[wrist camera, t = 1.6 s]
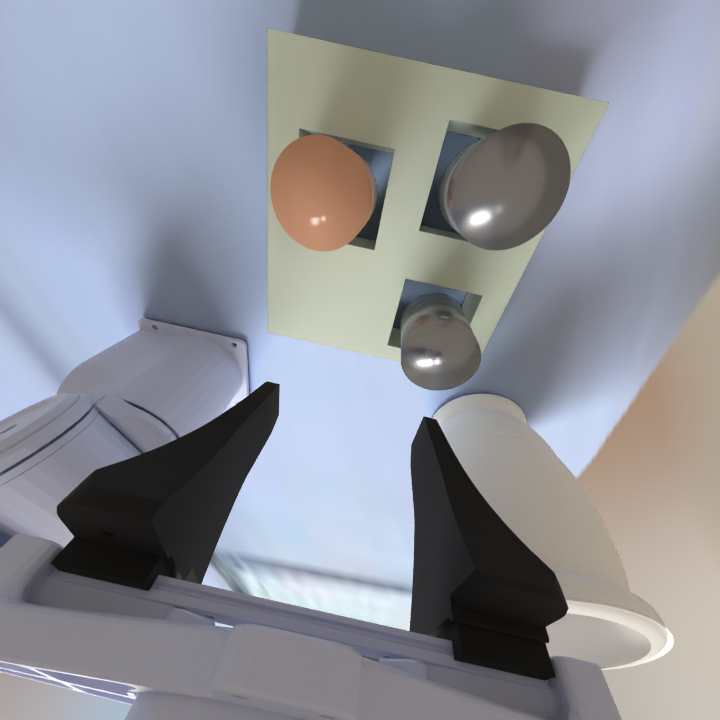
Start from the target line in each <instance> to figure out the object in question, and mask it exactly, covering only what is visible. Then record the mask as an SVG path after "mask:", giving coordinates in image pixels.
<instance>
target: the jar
mask: <svg viewBox="0 0 720 720" xmlns="http://www.w3.org/2000/svg"><path fill="white" fill-rule="evenodd" d="M433 419H436V420H437V421H438V423H439V425H440V427H441V429H442V431H443V433H444V435H445V437H446V439H447V440H448V442H449V444H450V446H451V448H452V450H453V451H454V453H455V455H456V457H457V458H458V460H459V462H460V463H461V465H462V467H463V468H464V470H465V472H466V473H467V475H468V476H469V478H470V479H471V481H472V482H473V484H474V485H475V486H476V488H477V489H478V491H479V492H480V493H481V495H482V496H483V497H484V499H485V500H486V501H487V502H488V504H489V505H490V506H491V507H492V509H493V510H494V511H495V512H496V513H497V514H498V516H499V517H500V518H501V519H502V520H503V521H504V523H505V524H506V525H507V526H508V527H509V528H510V529H511V530H512V531H513V532H514V533H515V535H516V536H517V537H518V538H519V539H520V540H521V541H522V542H523V543H524V544H525V545H526V546H527V547H528V548H529V549H530V550H531V551H532V552H533V553H534V554H535V555H537V556H538V557H539V558H540V559H541V560H542V561H543V562H544V563H545V564H546V565H547V566H548V567H549V568H550V569H551V570H552V571H553V572H554V573H555V575H556V577H557V579H558V582H559V584H560V586H561V589H562V592H563V594H564V597H565V599H566V602H567V605H568V608H569V609H568V611H567V613H566V615H565V616H564V617H562V618H561V619H559V620H558V621H556V622H554V623H552V624H550V625H548V626H546V630H547V633H548V636H549V643H545V644H546V647H547V650H548V653H549V656H550V657H554V656H564V657H570V658H574V659H578V660H583V661H587V662H592V663H596V664H597V665H598V666H600V668H601V670H609V669H618V668H625V667H630V666H635V665H639V664H643V663H647V662H649V661H652V660H655V659H657V658H659V657H661V656H663V655H665V654H666V653H667V652H669V651H670V649H671V648H672V647H673V644H674V639H673V636H672V634H671V633H670V632H669V630H667V629H666V626H665V624H664V622H663V620H662V619H661V617H660V616H659V614H658V613H657V612H656V611H655V609H654V608H653V607H652V606H651V605H650V604H648V603H647V602H646V601H645V600H643V599H642V598H640V597H639V596H637V595H635V594H634V593H632V592H631V591H630V589H629V586H628V581H627V578H626V574H625V571H624V568H623V565H622V562H621V559H620V557H619V554H618V552H617V549H616V547H615V545H614V542H613V540H612V538H611V536H610V534H609V532H608V530H607V528H606V526H605V524H604V522H603V520H602V518H601V516H600V514H599V512H598V511H597V509H596V507H595V505H594V504H593V502H592V501H591V499H590V498H589V496H588V495H587V493H586V491H585V490H584V489H583V487H582V486H581V484H580V483H579V482H578V480H577V479H576V478H575V476H574V475H573V474H572V473H571V471H570V470H569V469H568V468H567V467H566V466H565V464H564V463H563V462H562V461H561V460H560V459H559V458H558V457H557V456H556V454H555V453H554V451H553V450H552V449H551V447H550V446H549V445H548V444H547V443H546V442H545V440H544V439H543V438H542V437H541V436H540V435H539V434H538V433H537V432H536V431H534V430H533V429H532V428H531V427H529V426H528V425H527V422H526V417H525V415H524V413H523V411H522V410H521V409H520V407H519V406H518V405H516V404H515V403H514V402H512V401H511V400H509V399H506V398H504V397H501V396H497V395H493V394H471V395H466V396H462V397H459V398H456V399H454V400H452V401H450V402H448V403H446V404H445V405H443V406H442V407H441V408H440V409H439V410H438V411H437V412H436V413H435V415H434V416H433Z"/></svg>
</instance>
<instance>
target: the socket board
mask: <svg viewBox="0 0 720 720" xmlns="http://www.w3.org/2000/svg"><path fill="white" fill-rule="evenodd" d="M608 104H609V103H607V102H602V101H598V100H593V99H589V98H584V97H580V96H575V95H571V94H566V93H561V92H557V91H552V90H548V89H543V88H539V87H534V86H529V85H525V84H520V83H516V82H511V81H507V80H502V79H498V78H493V77H488V76H484V75H479V74H475V73H470V72H466V71H461V70H456V69H452V68H447V67H443V66H438V65H434V64H429V63H425V62H420V61H415V60H411V59H406V58H402V57H397V56H393V55H388V54H384V53H379V52H374V51H370V50H365V49H361V48H356V47H352V46H347V45H342V44H338V43H333V42H329V41H324V40H320V39H315V38H311V37H306V36H301V35H297V34H292V33H288V32H283V31H279V30H274V29H270V28H267V218H268V333H272V334H277V335H281V336H286V337H290V338H295V339H299V340H304V341H308V342H313V343H317V344H322V345H326V346H331V347H335V348H340V349H344V350H349V351H353V352H358V353H362V354H367V355H371V356H376V357H380V358H385V359H389V360H394V361H398V362H401V329H396V328H392V326H393V323H394V319H395V315H396V312H397V308H398V304H399V301H400V297H401V294H402V290H403V286H404V283H405V279H410V280H415V281H419V282H424V283H428V284H433V285H437V286H442V287H446V288H451V289H455V290H460V291H464V292H467V295H466V297H465V300H464V302H463V304H462V307H461V308H462V310H463V312H464V315H465V317H466V319H467V321H468V323H469V325H470V327H471V329H472V331H473V333H474V335H475V337H476V339H477V341H478V343H479V346H480V349H481V355H482V353H483V351H484V349H485V347H486V345H487V343H488V341H489V339H490V337H491V335H492V333H493V331H494V329H495V327H496V325H497V323H498V321H499V319H500V317H501V315H502V313H503V312H504V310H505V308H506V306H507V304H508V302H509V300H510V298H511V296H512V294H513V292H514V290H515V288H516V286H517V284H518V282H519V280H520V278H521V276H522V274H523V272H524V270H525V268H526V266H527V264H528V262H529V260H530V258H531V256H532V254H533V252H534V250H535V248H536V246H537V244H538V242H539V240H540V238H541V236H542V235H543V233H544V231H545V229H546V227H547V226H546V227H545V228H544V229H543V230H542V231H541V232H540V233H539V234H538V235H536V236H535V237H534V238H532V239H531V240H529V241H527V242H526V243H524V244H521V245H519V246H517V247H514V248H511V249H506V250H499V251H497V250H485V249H482V248H479V247H477V246H475V245H473V244H472V243H470V242H469V241H467V240H466V239H465V238H464V237H463V236H462V235H460V234H459V233H454V232H449V231H445V230H440V229H436V228H431V227H427V226H422V225H421V221H422V218H423V214H424V210H425V207H426V203H427V199H428V196H429V192H430V189H431V185H432V181H433V178H434V174H435V170H436V167H437V163H438V160H439V156H440V152H441V149H442V145H443V141H444V138H445V134H446V131H450V132H455V133H460V134H464V135H469V136H473V137H478V138H482V139H483V138H485V137H487V136H489V135H490V134H492V133H494V132H496V131H498V130H500V129H502V128H504V127H507V126H510V125H514V124H519V123H535V124H540V125H543V126H545V127H547V128H549V129H551V130H552V131H554V132H555V133H556V134H557V135H558V136H559V137H560V138H561V139H562V141H563V142H564V144H565V146H566V148H567V151H568V154H569V158H570V165H571V175H570V179H571V177H572V175H573V173H574V171H575V169H576V167H577V165H578V163H579V161H580V159H581V158H582V156H583V154H584V152H585V150H586V148H587V146H588V144H589V142H590V140H591V138H592V136H593V134H594V132H595V130H596V128H597V126H598V124H599V122H600V120H601V118H602V116H603V114H604V112H605V110H606V108H607V106H608ZM307 135H325V136H328V137H331V138H334V139H336V140H338V141H339V142H342V143H347V144H351V145H356V146H360V147H365V148H370V149H374V150H379V151H383V152H388V153H392V154H394V156H393V161H392V166H391V171H390V176H389V180H388V185H387V190H386V195H385V200H384V205H383V210H382V215H381V220H380V225H379V230H378V235H377V240H376V241H374V240H370V239H365V238H361V237H355V238H354V239H353V240H352V241H351V242H349V243H348V244H347V245H345V246H343V247H341V248H339V249H336V250H333V251H315V250H311V249H308V248H306V247H304V246H302V245H300V244H299V243H297V242H296V241H295V240H293V239H292V238H291V237H290V236H289V235H288V234H287V233H286V231H285V230H284V229H283V227H282V226H281V224H280V223H279V221H278V219H277V217H276V214H275V212H274V209H273V205H272V200H271V191H270V185H271V176H272V171H273V168H274V165H275V163H276V161H277V159H278V157H279V155H280V154H281V152H282V151H283V150H284V149H285V148H286V147H287V146H288V145H289V144H290V143H291V142H293V141H295V140H296V139H298V138H301V137H303V136H307Z"/></svg>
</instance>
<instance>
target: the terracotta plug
mask: <svg viewBox="0 0 720 720" xmlns="http://www.w3.org/2000/svg"><path fill="white" fill-rule="evenodd" d="M270 191H271V200H272V205H273V209H274V212H275V214H276V217H277V219H278V221H279V223H280V224H281V226H282V227H283V229H284V230H285V231H286V233H287V234H288V235H289V236H290V237H291V238H292V239H293V240H295V241H296V242H297V243H299V244H300V245H302V246H304V247H306V248H308V249H311V250H315V251H333V250H336V249H339V248H341V247H343V246H345V245H347V244H348V243H349V242H351V241H352V240H353V239H354V238H355V237H356V236H357V234H358V233H359V232H360V231H361V230H362V228H363V227H364V226H365V225H366V223H367V222H368V221H369V219H370V218H371V216H372V214H373V212H374V209H375V206H376V201H377V185H376V180H375V177H374V174H373V172H372V170H371V168H370V166H369V165H368V163H367V162H366V161H365V160H364V159H363V158H362V157H361V156H360V155H359V154H357V153H356V152H354V151H353V150H351V149H350V148H348V147H347V146H345V145H344V144H342V143H341V142H339V141H338V140H336V139H334V138H331V137H328V136H325V135H307V136H303V137H301V138H298V139H296V140H295V141H293V142H291V143H290V144H289V145H288V146H287V147H286V148H285V149H284V150H283V151H282V152H281V154H280V155H279V157H278V159H277V161H276V163H275V165H274V168H273V171H272V176H271V185H270Z"/></svg>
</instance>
